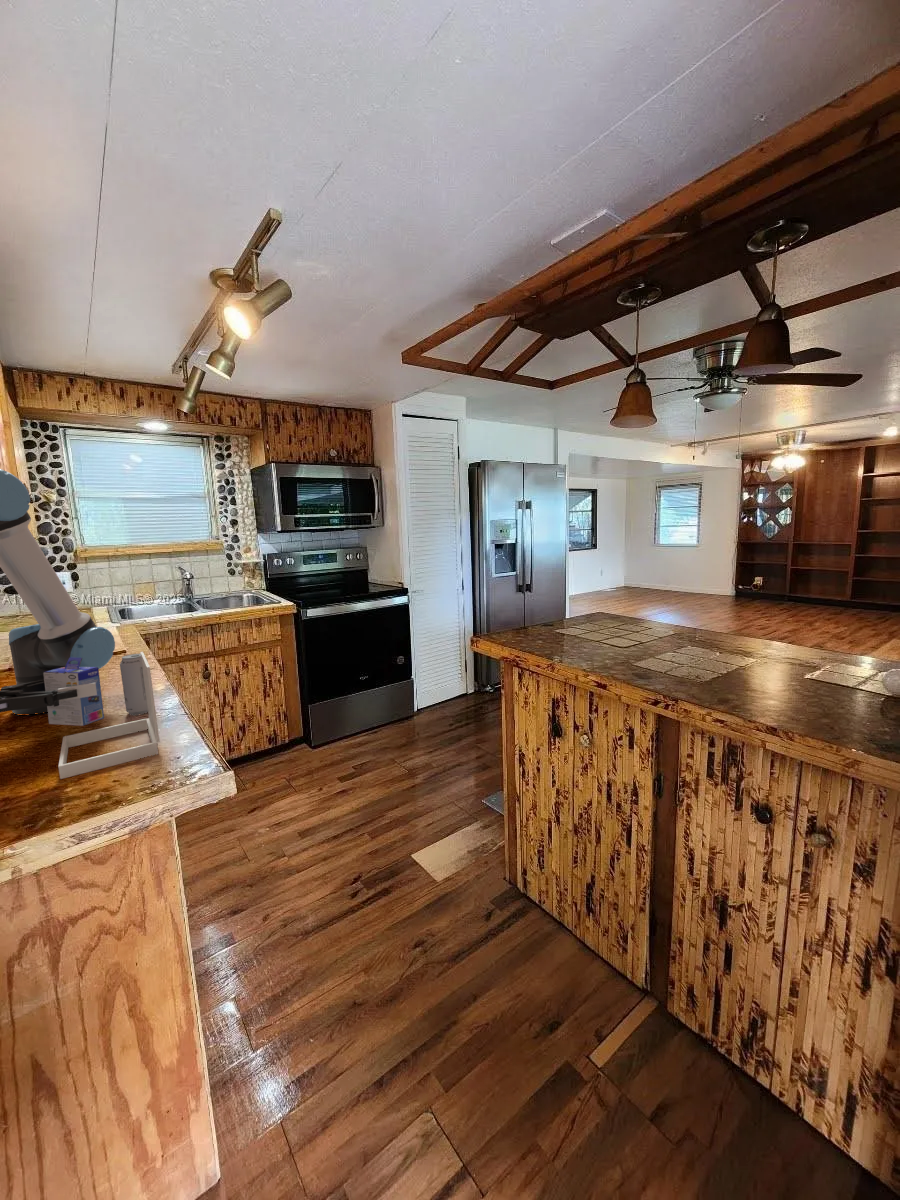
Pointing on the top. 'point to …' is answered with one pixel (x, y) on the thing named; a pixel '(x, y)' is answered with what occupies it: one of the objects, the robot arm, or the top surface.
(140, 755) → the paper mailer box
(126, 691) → the energy drink can
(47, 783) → the top surface
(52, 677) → the ink cartridge box
